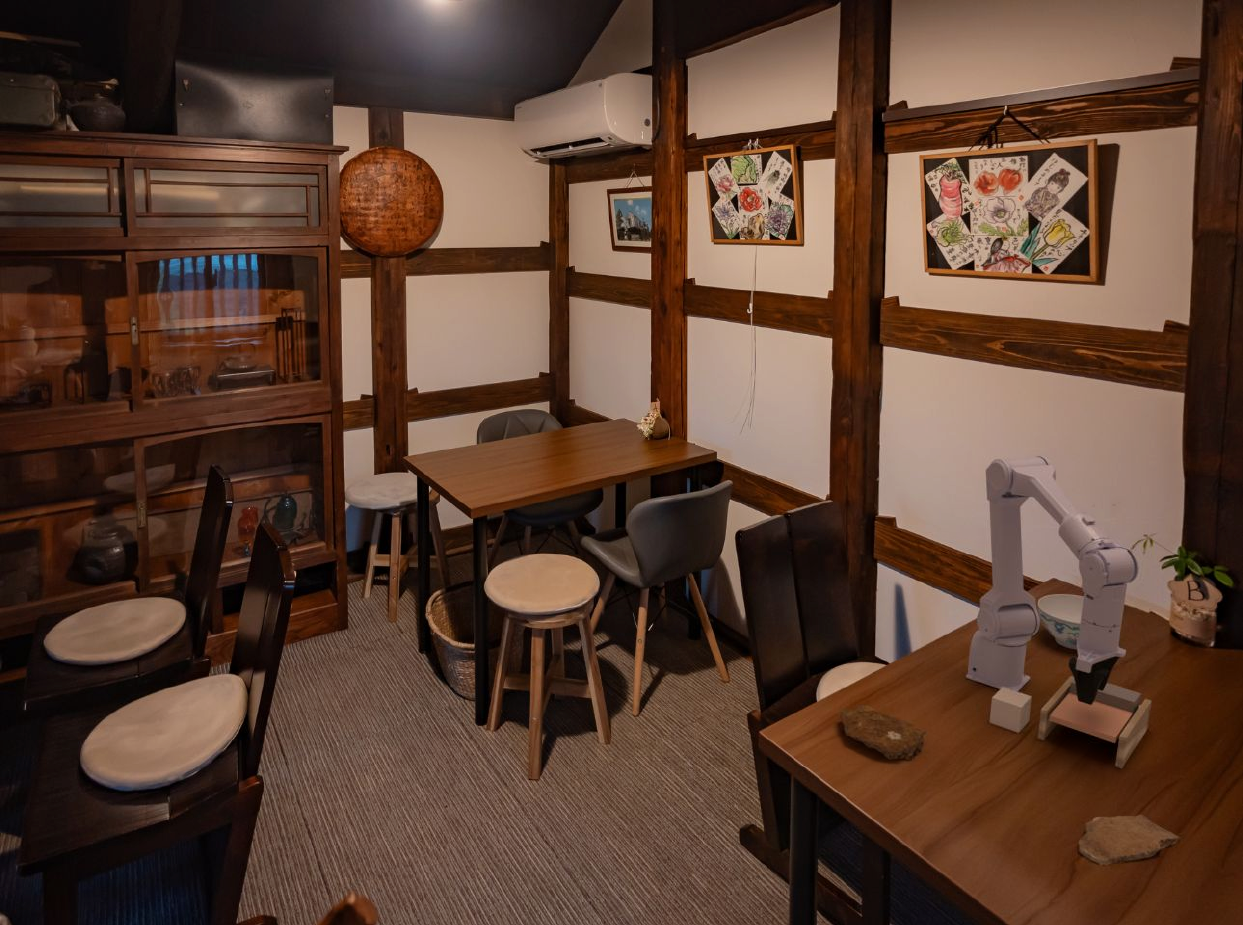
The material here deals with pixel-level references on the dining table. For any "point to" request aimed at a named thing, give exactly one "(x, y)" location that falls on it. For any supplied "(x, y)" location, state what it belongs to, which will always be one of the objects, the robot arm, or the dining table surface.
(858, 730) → the decorative rock
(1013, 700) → the beige cube
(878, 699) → the dining table surface
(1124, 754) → the frame
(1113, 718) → the trapdoor
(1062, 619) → the chinaware
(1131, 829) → the pottery shard
